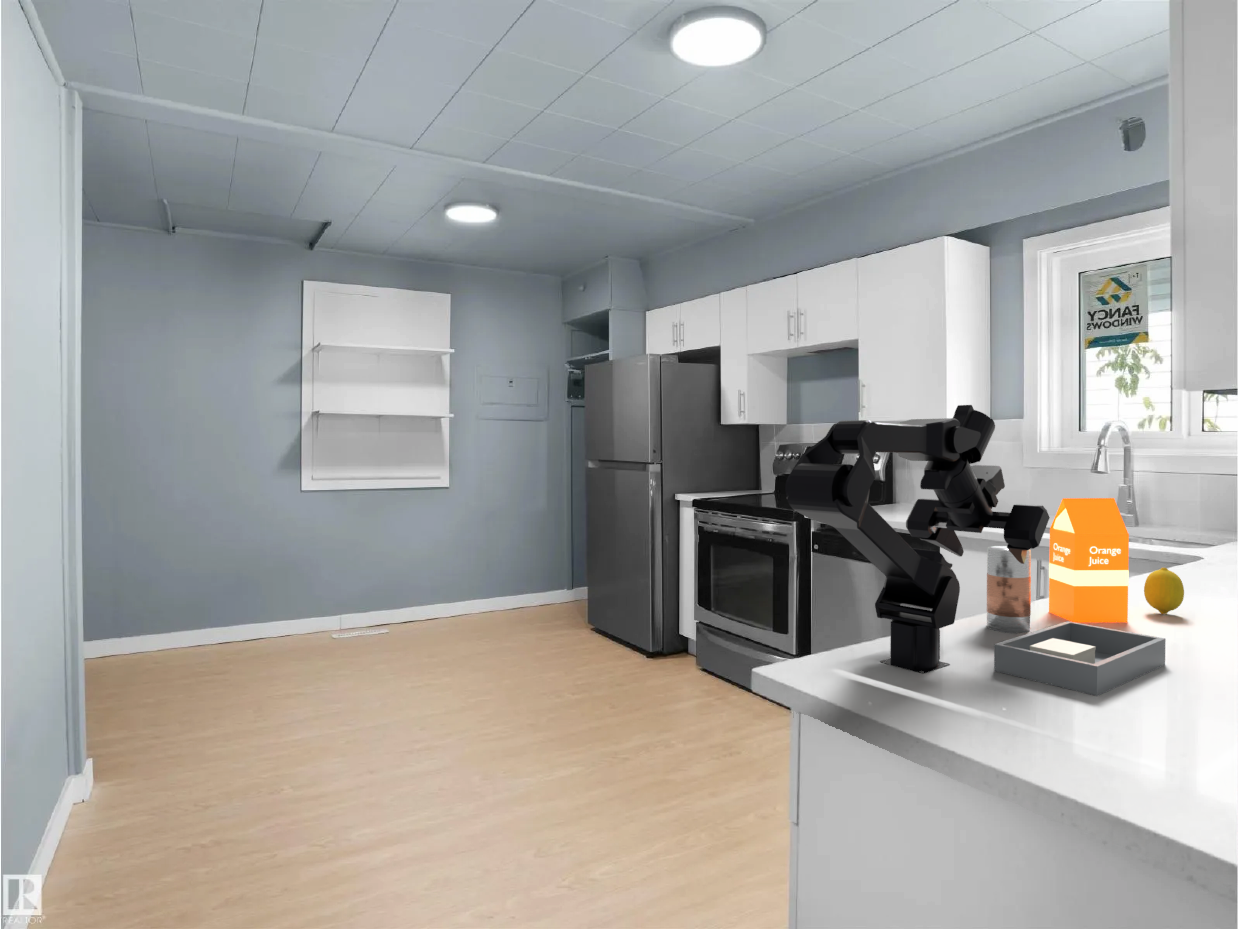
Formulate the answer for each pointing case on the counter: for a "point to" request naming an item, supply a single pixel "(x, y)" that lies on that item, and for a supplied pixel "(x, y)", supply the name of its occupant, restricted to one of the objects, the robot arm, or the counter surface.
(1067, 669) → the grey rectangular tray
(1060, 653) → the cream smooth square block
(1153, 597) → the lemon
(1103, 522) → the orange juice
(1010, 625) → the steel tin
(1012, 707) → the counter surface
